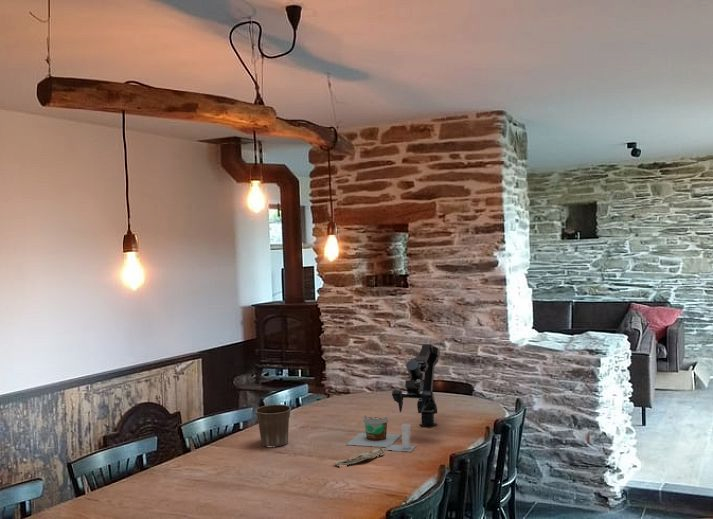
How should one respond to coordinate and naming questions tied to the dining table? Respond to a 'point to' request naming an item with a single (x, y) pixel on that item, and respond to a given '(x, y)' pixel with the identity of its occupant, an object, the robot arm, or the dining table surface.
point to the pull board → (386, 440)
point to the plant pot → (273, 424)
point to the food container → (375, 428)
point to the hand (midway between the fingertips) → (410, 412)
